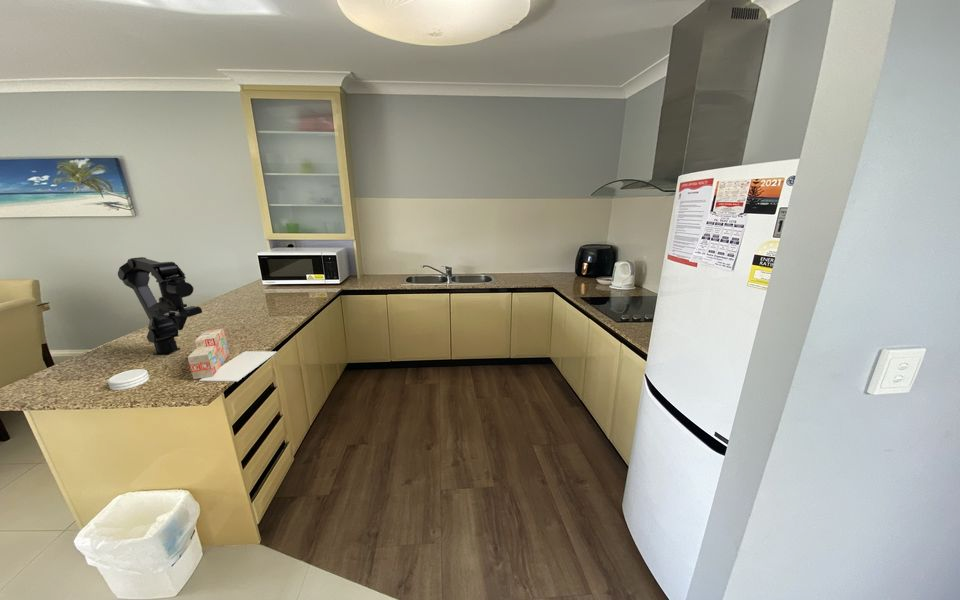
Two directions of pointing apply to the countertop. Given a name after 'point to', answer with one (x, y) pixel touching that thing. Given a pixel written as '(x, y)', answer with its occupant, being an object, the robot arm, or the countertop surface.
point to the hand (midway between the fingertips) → (180, 329)
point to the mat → (239, 366)
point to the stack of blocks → (208, 353)
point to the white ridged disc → (128, 379)
